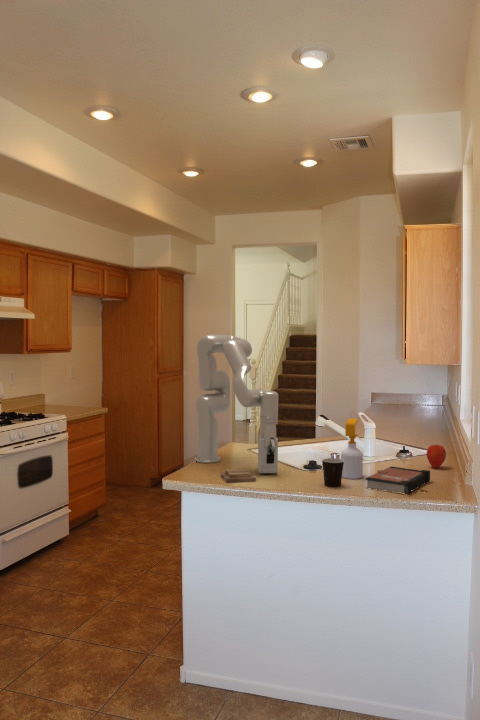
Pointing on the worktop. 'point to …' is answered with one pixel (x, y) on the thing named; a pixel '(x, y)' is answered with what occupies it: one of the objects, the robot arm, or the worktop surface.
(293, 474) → the worktop surface
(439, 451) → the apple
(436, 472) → the worktop surface
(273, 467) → the skincare box
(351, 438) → the soap bottle
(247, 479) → the plinth
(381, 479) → the book
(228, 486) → the worktop surface
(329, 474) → the coffee mug
